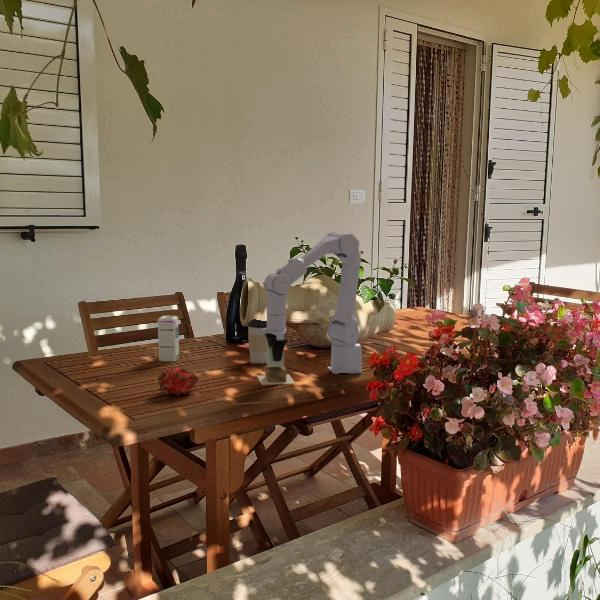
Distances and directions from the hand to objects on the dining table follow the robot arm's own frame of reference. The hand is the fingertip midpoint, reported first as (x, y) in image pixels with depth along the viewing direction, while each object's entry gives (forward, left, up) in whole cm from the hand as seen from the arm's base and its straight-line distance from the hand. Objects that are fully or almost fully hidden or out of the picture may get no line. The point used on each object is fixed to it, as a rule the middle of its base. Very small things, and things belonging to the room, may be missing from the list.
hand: (275, 358), depth 195 cm
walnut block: (0, 0, -6) cm, 6 cm away
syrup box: (+31, -31, -7) cm, 44 cm away
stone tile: (0, 0, -7) cm, 7 cm away
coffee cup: (+1, -23, -7) cm, 24 cm away
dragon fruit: (+29, +8, -7) cm, 31 cm away
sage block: (0, 0, -2) cm, 2 cm away
